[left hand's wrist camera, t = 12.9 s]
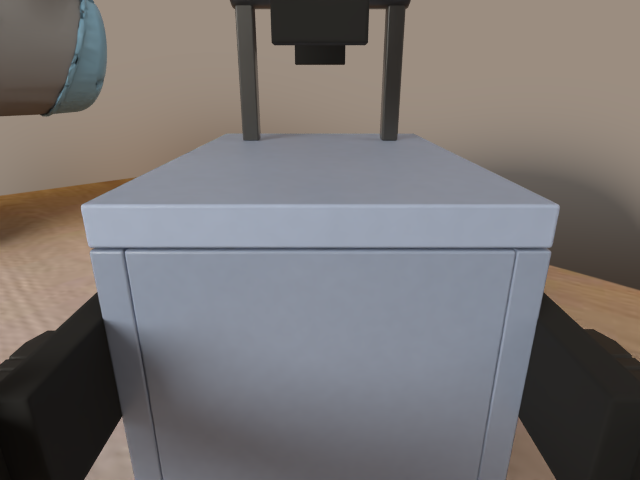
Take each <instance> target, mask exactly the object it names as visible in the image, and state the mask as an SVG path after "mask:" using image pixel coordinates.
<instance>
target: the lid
mask: <svg viewBox="0 0 640 480" xmlns="http://www.w3.org/2000/svg"><path fill="white" fill-rule="evenodd" d="M410 1H411V0H369V9H386V18H385V39H384V60H383V82H382V103H381V124H380V134H260V113H259V91H258V70H257V48H256V27H255V9H271V7H270V0H230V2H231V5H232V7H233V8H234V9H235V14H236V30H237V46H238V63H239V80H240V96H241V113H242V130H243V134H225V135H223V136H221V137H219V138H217V139H215V140H213V141H211V142H209V143H207V144H205V145H203V146H201V147H199V148H197V149H194V150H192V151H190V152H188V153H186V154H184V155H182V156H180V157H178V158H176V159H174V160H172V161H170V162H168V163H166V164H164V165H162V166H160V167H158V168H156V169H154V170H152V171H150V172H148V173H145V174H143V175H142V176H139V177H137V178H135V179H133V180H131V181H129V182H127V183H125V184H123V185H121V186H119V187H117V188H115V189H113V190H111V191H109V192H107V193H105V194H103V195H101V196H98V197H96V198H94V199H92V200H90V201H88V202H86V203H84V204H82V205H81V211H82V216H83V221H84V226H85V231H86V236H87V241H88V245H89V247H91V248H550V247H552V245H553V239H554V234H555V230H556V225H557V220H558V215H559V209H560V206H559V205H558V204H556V203H554V202H552V201H550V200H548V199H546V198H544V197H542V196H540V195H538V194H536V193H534V192H532V191H530V190H528V189H526V188H523V187H521V186H519V185H517V184H515V183H513V182H511V181H509V180H507V179H505V178H503V177H501V176H499V175H497V174H495V173H493V172H491V171H489V170H487V169H485V168H483V167H481V166H478V165H477V164H474V163H472V162H470V161H468V160H466V159H464V158H462V157H460V156H458V155H456V154H454V153H452V152H450V151H448V150H446V149H444V148H442V147H440V146H438V145H436V144H434V143H431V142H430V141H428V140H425V139H423V138H421V137H419V136H417V135H415V134H398V120H399V104H400V87H401V71H402V54H403V38H404V22H405V9H407V8H408V6H409V4H410Z"/></svg>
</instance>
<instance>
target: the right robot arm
mask: <svg viewBox="0 0 640 480" xmlns="http://www.w3.org/2000/svg"><path fill="white" fill-rule="evenodd" d="M270 7H271V35H272V43H273V44H274V45H295V64H296V65H344V64H345V45H366V44H367V43H368V22H369V0H270ZM106 63H107V44H106V35H105V29H104V24H103V20H102V17H101V14H100V11H99V9H98V7H97V6H96V5H95V4H94V1H93V0H0V116H16V115H38V114H40V115H42V116H50V115H52V114H58V113H68V112H78V111H82V110H85V109H87V108H88V107H90V106H91V105H92V104H93V103H94V102H95V100H96V99H97V97H98V95H99V93H100V91H101V89H102V85H103V81H104V77H105V72H106Z"/></svg>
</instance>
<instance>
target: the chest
mask: <svg viewBox="0 0 640 480" xmlns="http://www.w3.org/2000/svg"><path fill="white" fill-rule="evenodd" d="M90 257H91V262H92V267H93V272H94V277H95V282H96V287H97V292H98V297H99V302H100V307H101V312H102V317H103V321H104V326H105V331H106V336H107V341H108V346H109V351H110V356H111V361H112V366H113V371H114V376H115V381H116V386H117V391H118V396H119V401H120V406H121V411H122V417H123V422H124V427H125V432H126V437H127V442H128V447H129V452H130V457H131V462H132V467H133V472H134V477H135V480H506V476H507V471H508V466H509V461H510V456H511V451H512V446H513V441H514V436H515V431H516V426H517V421H518V415H519V410H520V405H521V400H522V395H523V390H524V385H525V380H526V375H527V370H528V365H529V360H530V355H531V350H532V345H533V340H534V335H535V330H536V325H537V320H538V317H539V312H540V307H541V302H542V297H543V292H544V287H545V282H546V277H547V272H548V267H549V262H550V257H551V251H550V250H548V249H547V248H94V249H93V250H91V251H90Z"/></svg>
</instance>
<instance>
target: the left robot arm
mask: <svg viewBox="0 0 640 480" xmlns="http://www.w3.org/2000/svg"><path fill="white" fill-rule="evenodd" d="M518 416H519V418H520V420H521V421H522V423H523V425H524V426H525V428H526V430H527V431H528V433H529V435H530V436H531V438H532V440H533V441H534V443H535V445H536V446H537V448H538V450H539V451H540V453H541V455H542V456H543V458H544V460H545V461H546V463H547V465H548V466H549V468H550V470H551V471H552V473H553V475H554V476H555V478H556V480H640V362H639V361H638V360H637V359H635V358H632V355H631V354H630V353H628V352H627V351H626V350H625V349H624V348H623V347H621V346H620V345H619V344H618V343H617V342H616V341H614V340H612V339H610V338H608V337H607V336H605V335H603V334H601V333H599V332H597V331H595V330H594V329H583V328H582V327H581V326H579V325H578V324H577V323H576V322H575V321H574V320H573V319H572V318H571V317H570V316H569V315H568V314H566V313H565V312H564V311H563V310H562V309H561V308H560V307H559V306H558V305H557V304H556V303H555V302H553V301H552V300H551V299H550V298H549V297H548V296H547V295H546V294H545V293H544V292H543V297H542V302H541V307H540V312H539V317H538V320H537V325H536V330H535V335H534V340H533V345H532V350H531V355H530V360H529V365H528V370H527V375H526V380H525V385H524V390H523V395H522V400H521V405H520V410H519V415H518ZM121 417H122V411H121V406H120V401H119V396H118V391H117V386H116V381H115V376H114V371H113V366H112V361H111V356H110V351H109V346H108V341H107V336H106V331H105V326H104V321H103V317H102V312H101V307H100V302H99V297H98V292H97V293H96V294H95V295H94V296H92V297H91V298H90V299H89V300H88V301H87V302H86V303H85V304H84V305H83V306H82V307H81V308H79V309H78V310H77V311H76V312H75V313H74V314H73V315H72V316H71V317H70V318H69V319H68V320H66V321H65V322H64V323H63V324H62V325H61V326H60V327H59V328H58V329H57V330H56V331H46V332H44V333H43V334H41V335H39V336H37V337H35V338H33V339H31V340H30V341H28V342H26V343H25V344H24V345H22V346H21V347H20V348H19V349H18V350H17V351H15V352H14V353H13V354H12V355H11V356H10V358H9V360H5V361H4V362H3V363H2V364H1V365H0V480H84V479H85V477H86V476H87V474H88V472H89V471H90V469H91V467H92V466H93V464H94V462H95V461H96V459H97V457H98V456H99V454H100V452H101V451H102V449H103V447H104V446H105V444H106V442H107V441H108V439H109V437H110V436H111V434H112V432H113V431H114V429H115V427H116V426H117V424H118V422H119V421H120V419H121Z"/></svg>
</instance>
